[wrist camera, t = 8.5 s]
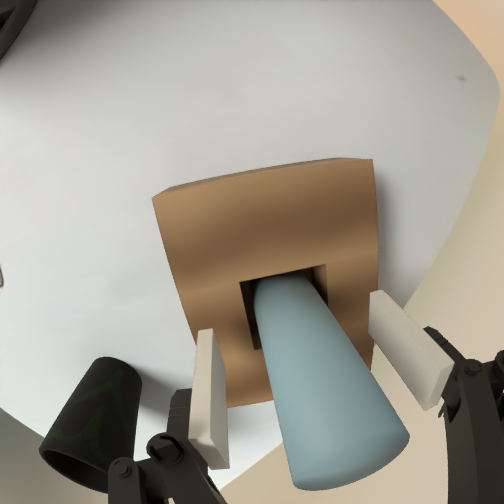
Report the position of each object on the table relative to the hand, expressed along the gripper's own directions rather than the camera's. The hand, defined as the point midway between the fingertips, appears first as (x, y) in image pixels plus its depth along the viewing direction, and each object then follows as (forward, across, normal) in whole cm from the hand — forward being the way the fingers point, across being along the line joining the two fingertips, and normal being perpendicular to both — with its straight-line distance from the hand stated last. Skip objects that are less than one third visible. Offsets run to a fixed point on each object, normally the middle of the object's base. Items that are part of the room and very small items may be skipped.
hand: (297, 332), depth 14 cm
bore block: (+7, 0, 0) cm, 7 cm away
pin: (+6, 0, 0) cm, 6 cm away
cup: (+8, -17, -8) cm, 20 cm away
